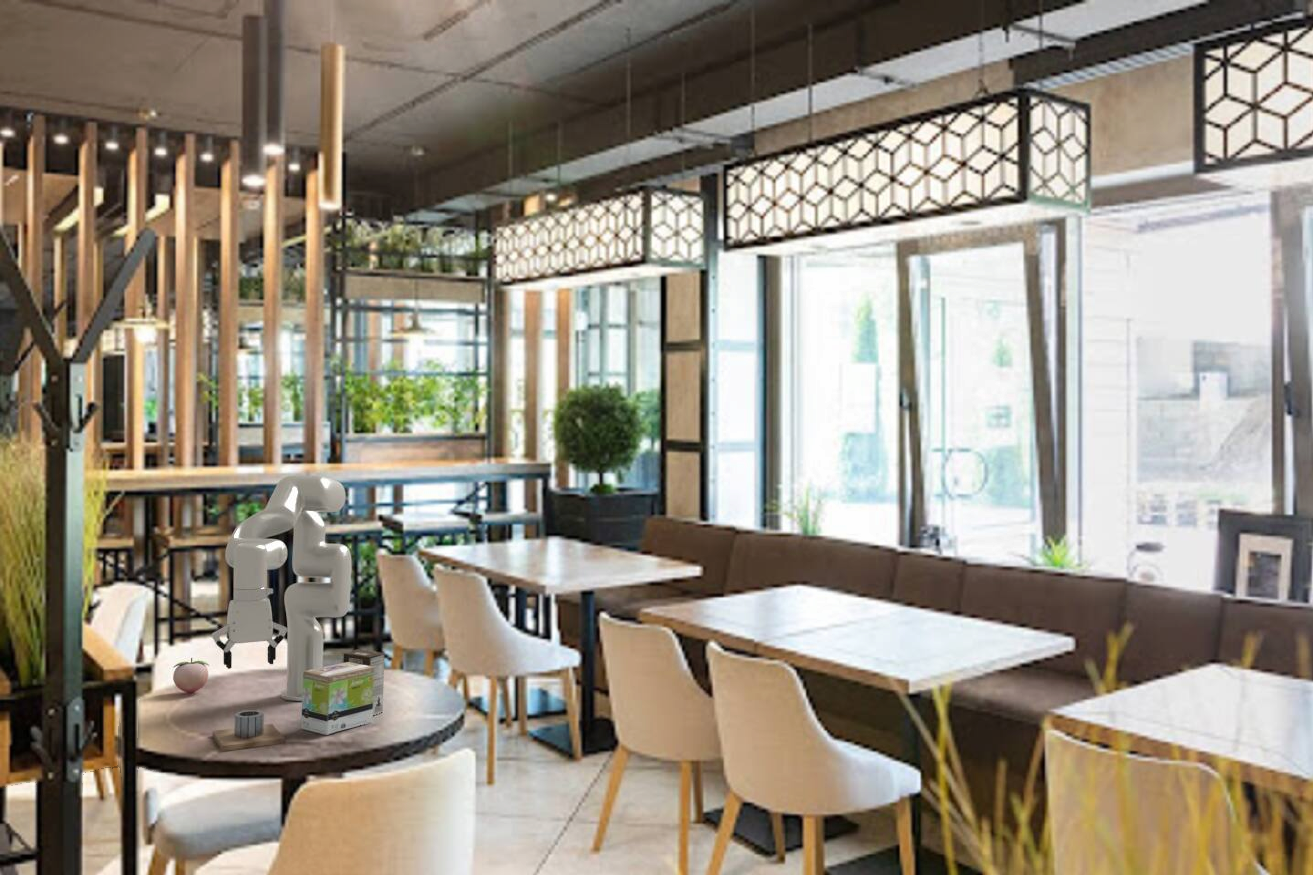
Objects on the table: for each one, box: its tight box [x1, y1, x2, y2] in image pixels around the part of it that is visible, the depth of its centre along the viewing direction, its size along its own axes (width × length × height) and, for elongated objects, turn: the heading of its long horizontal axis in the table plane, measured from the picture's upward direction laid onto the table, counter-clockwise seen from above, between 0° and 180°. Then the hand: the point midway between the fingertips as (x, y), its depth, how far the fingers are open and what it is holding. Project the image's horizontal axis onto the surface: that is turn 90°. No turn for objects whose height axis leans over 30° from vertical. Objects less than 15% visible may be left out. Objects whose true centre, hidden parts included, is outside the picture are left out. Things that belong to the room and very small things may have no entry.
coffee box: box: [342, 648, 385, 716], centre depth 293 cm, size 9×6×16 cm
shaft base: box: [211, 723, 286, 752], centre depth 268 cm, size 14×14×4 cm
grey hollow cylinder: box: [234, 709, 265, 738], centre depth 268 cm, size 6×6×5 cm
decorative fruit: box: [172, 657, 210, 695], centre depth 309 cm, size 9×8×10 cm
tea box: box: [300, 662, 374, 736], centre depth 281 cm, size 15×10×15 cm
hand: (249, 665), depth 268 cm, fingers open, 9 cm apart
